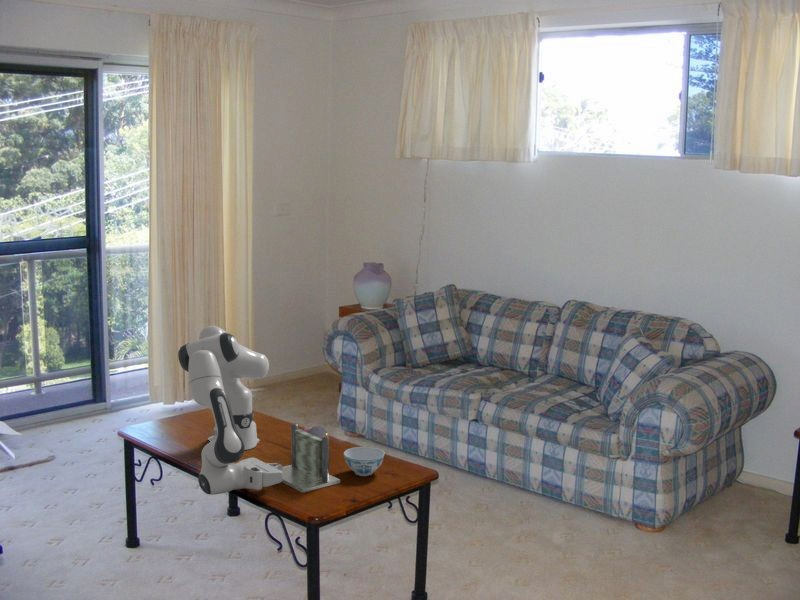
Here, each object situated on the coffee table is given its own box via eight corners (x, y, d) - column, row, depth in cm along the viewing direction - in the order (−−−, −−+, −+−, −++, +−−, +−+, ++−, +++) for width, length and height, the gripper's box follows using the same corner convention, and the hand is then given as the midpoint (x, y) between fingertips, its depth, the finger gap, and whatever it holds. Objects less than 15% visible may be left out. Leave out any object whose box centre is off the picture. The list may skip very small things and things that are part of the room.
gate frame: (266, 473, 318) (266, 424, 315) (303, 464, 328) (303, 416, 326) (302, 492, 300) (302, 440, 297) (340, 482, 310) (340, 432, 307)
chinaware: (337, 477, 316) (337, 456, 315) (353, 464, 330) (353, 444, 329) (375, 482, 311) (375, 461, 310) (390, 469, 325) (390, 449, 324)
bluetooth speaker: (305, 448, 348) (305, 424, 346) (329, 448, 349) (329, 424, 347) (303, 467, 325) (303, 442, 324) (328, 467, 326) (328, 442, 325)
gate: (295, 465, 321) (295, 430, 319) (299, 464, 323) (299, 429, 321) (319, 477, 309) (319, 441, 307) (323, 476, 310) (324, 440, 308)
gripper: (230, 474, 305) (264, 466, 314) (260, 491, 289) (295, 482, 298) (230, 457, 304) (264, 450, 313) (260, 473, 288) (295, 465, 297)
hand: (279, 466), depth 305 cm, fingers closed
